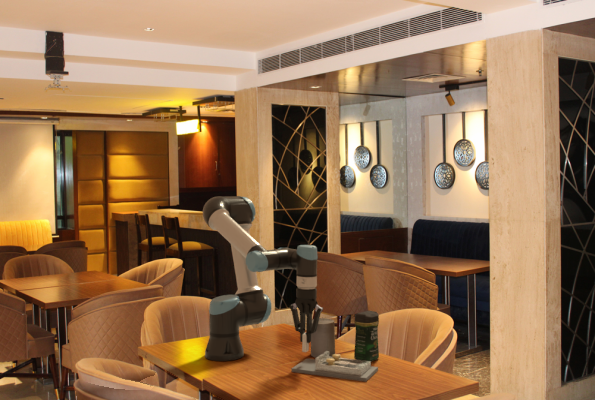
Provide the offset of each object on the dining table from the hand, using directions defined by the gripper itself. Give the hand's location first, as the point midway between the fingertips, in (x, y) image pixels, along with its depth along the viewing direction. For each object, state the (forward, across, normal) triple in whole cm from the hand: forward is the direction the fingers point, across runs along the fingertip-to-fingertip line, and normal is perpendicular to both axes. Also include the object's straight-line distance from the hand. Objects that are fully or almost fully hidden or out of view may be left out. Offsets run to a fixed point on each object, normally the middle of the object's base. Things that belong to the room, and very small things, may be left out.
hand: (305, 350), depth 212 cm
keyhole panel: (+4, +15, 0) cm, 16 cm away
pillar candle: (+6, 0, +18) cm, 19 cm away
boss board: (+6, +12, 0) cm, 13 cm away
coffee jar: (+6, +18, +19) cm, 26 cm away
